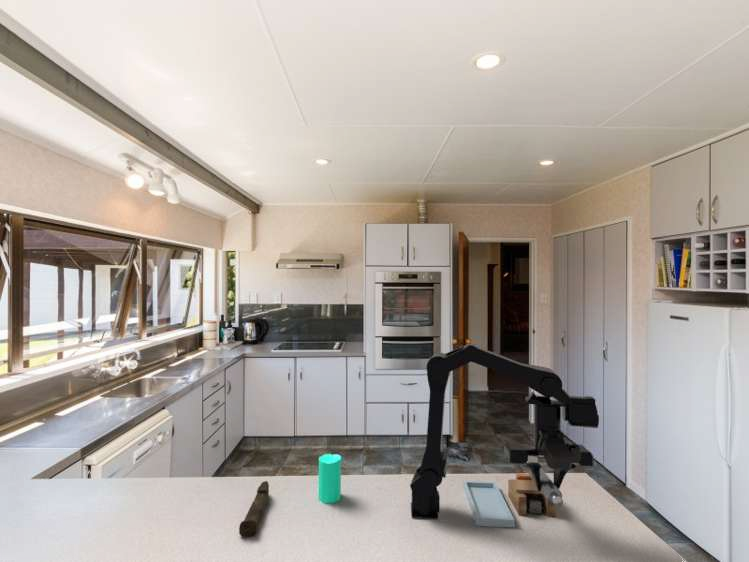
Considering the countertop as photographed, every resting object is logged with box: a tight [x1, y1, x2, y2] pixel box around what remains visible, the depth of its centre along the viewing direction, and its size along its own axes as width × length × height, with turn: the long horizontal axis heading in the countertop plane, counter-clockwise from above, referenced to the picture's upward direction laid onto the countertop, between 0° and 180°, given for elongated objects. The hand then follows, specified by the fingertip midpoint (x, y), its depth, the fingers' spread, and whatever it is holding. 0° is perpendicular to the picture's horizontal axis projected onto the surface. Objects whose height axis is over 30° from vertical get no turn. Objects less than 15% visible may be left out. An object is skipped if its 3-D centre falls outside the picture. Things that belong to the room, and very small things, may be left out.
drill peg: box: [528, 467, 564, 507], centre depth 92 cm, size 4×13×4 cm, turn 177°
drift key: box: [515, 473, 542, 514], centre depth 103 cm, size 5×9×6 cm, turn 177°
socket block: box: [507, 478, 556, 518], centre depth 102 cm, size 9×9×5 cm
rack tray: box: [462, 480, 516, 528], centre depth 102 cm, size 9×19×2 cm, turn 177°
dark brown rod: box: [238, 480, 270, 538], centre depth 97 cm, size 19×4×5 cm, turn 1°
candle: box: [317, 453, 342, 504], centre depth 105 cm, size 6×6×12 cm
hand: (547, 490), depth 91 cm, fingers closed on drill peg, 4 cm apart
